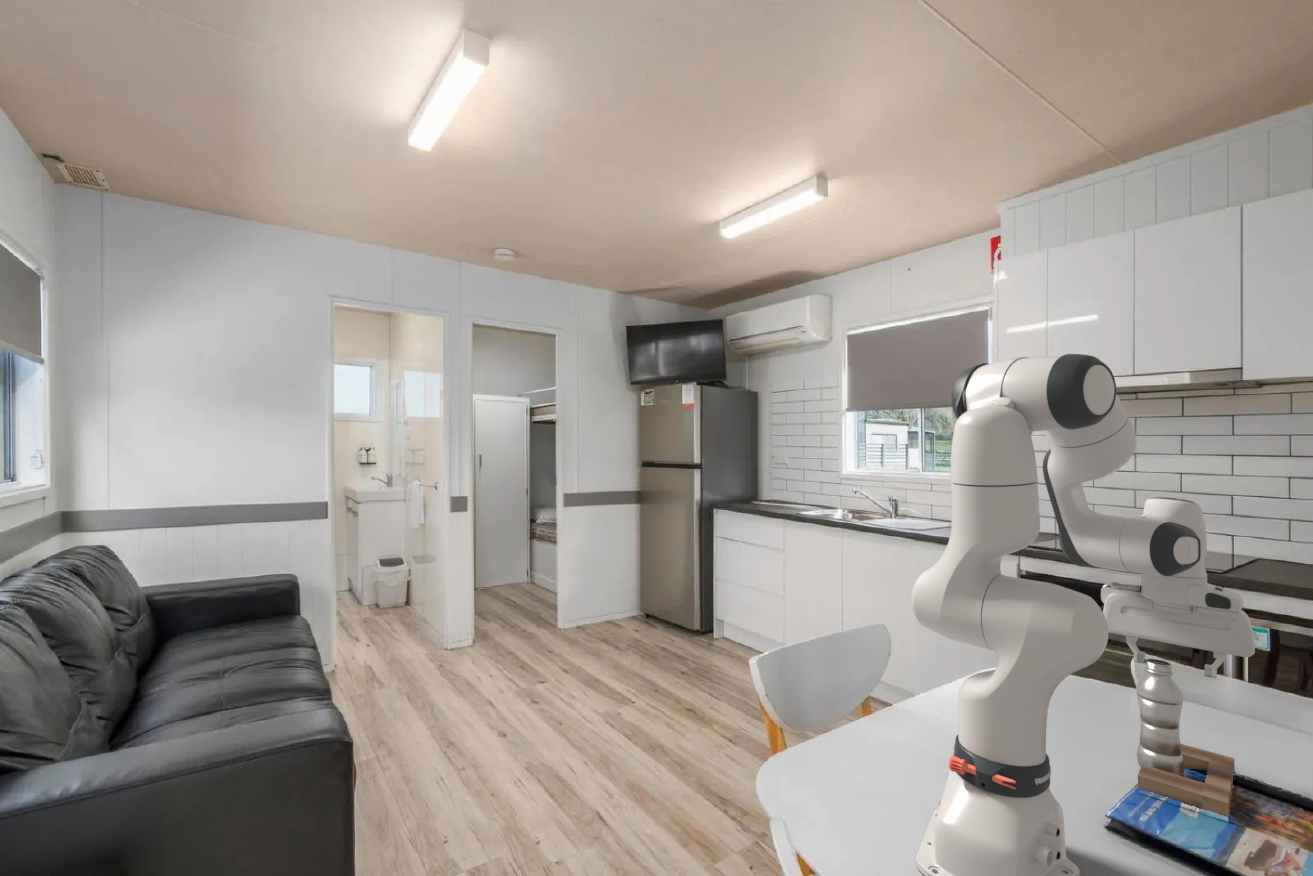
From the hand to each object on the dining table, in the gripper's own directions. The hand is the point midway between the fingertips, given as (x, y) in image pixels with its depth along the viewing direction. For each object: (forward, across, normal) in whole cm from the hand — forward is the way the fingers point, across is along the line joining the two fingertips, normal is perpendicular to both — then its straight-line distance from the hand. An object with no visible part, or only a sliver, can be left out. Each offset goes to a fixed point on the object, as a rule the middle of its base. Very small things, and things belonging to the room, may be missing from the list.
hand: (1174, 669), depth 104 cm
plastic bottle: (+20, -2, 0) cm, 20 cm away
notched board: (+19, +2, 0) cm, 19 cm away
